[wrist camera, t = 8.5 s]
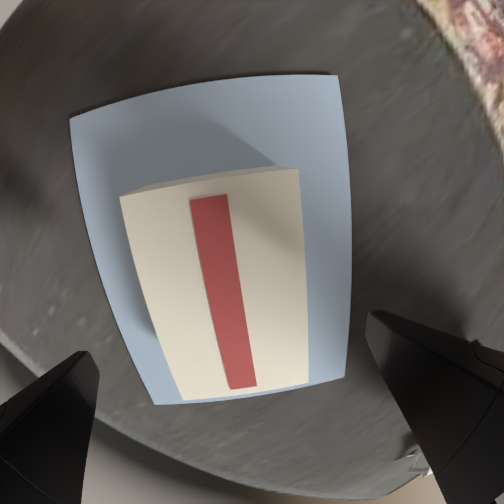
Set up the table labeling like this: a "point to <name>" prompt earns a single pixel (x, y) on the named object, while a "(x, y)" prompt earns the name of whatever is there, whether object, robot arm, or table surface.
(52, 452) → the robot arm
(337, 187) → the mat
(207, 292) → the card box
